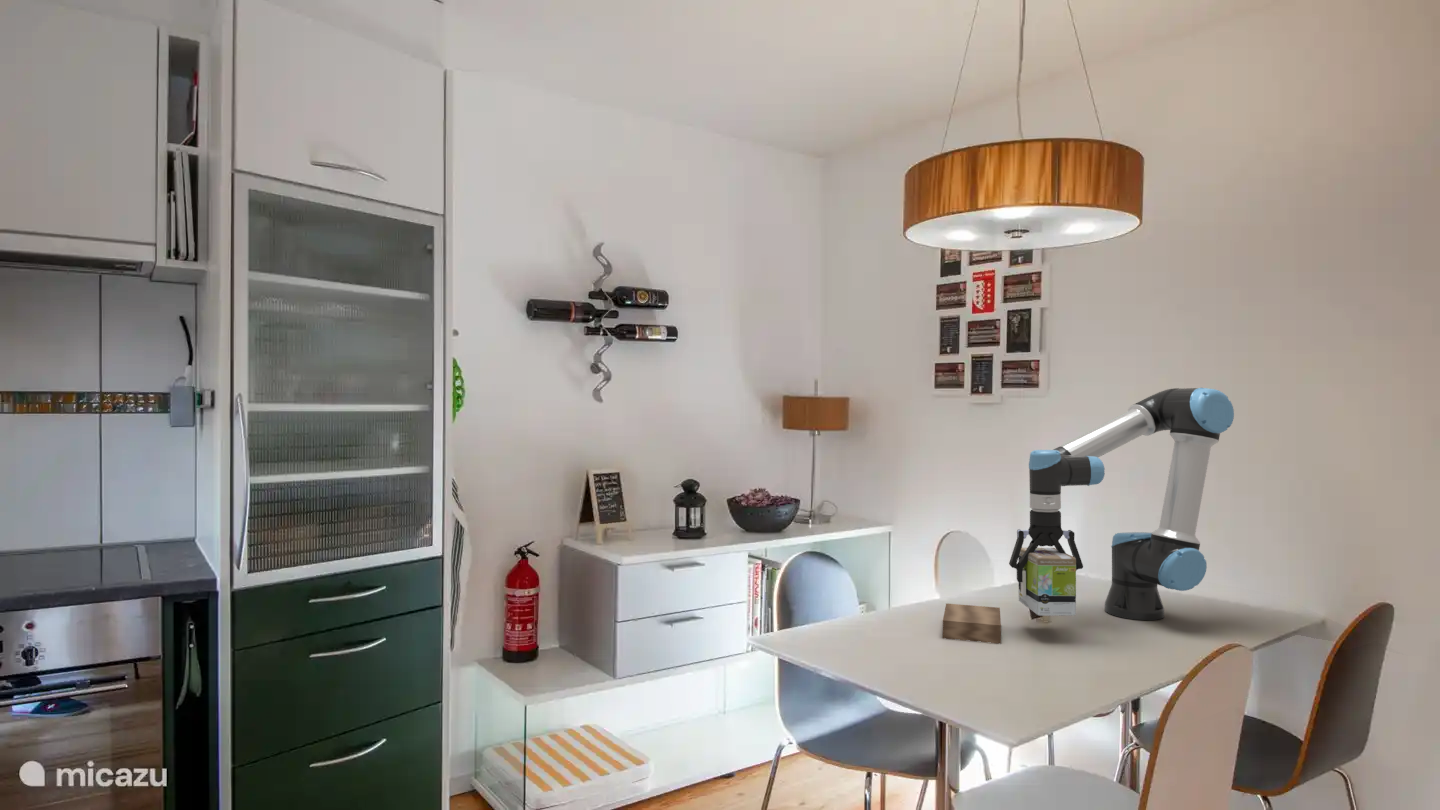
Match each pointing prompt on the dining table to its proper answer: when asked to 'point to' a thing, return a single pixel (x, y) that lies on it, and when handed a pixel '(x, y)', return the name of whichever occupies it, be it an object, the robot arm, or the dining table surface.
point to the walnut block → (972, 623)
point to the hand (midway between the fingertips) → (1045, 595)
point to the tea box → (1049, 582)
